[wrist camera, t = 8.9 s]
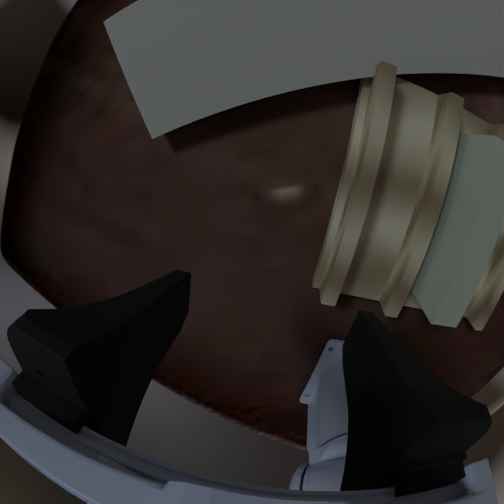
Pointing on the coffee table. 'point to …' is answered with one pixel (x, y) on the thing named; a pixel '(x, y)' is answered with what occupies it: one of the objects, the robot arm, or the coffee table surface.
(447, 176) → the ribbed tan slab
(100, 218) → the coffee table surface
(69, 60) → the coffee table surface
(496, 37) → the grey rectangular block
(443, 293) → the clay strip
